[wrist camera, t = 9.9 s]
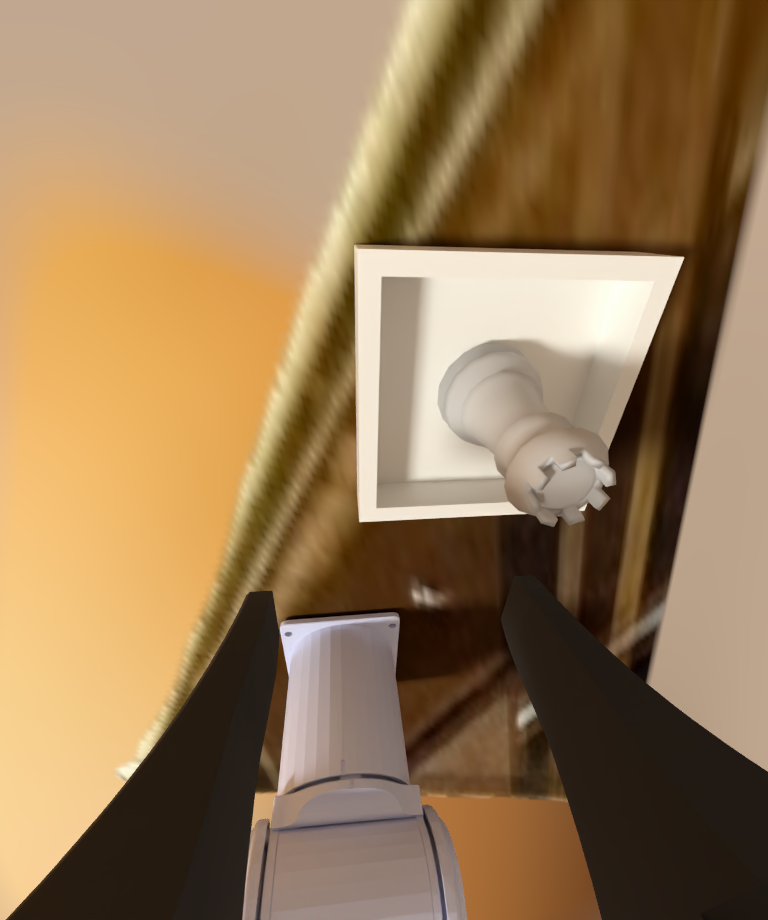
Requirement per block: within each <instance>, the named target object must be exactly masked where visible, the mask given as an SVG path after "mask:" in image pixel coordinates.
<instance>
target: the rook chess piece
mask: <svg viewBox="0 0 768 920" xmlns="http://www.w3.org/2000/svg"><path fill="white" fill-rule="evenodd" d="M543 403H544V402H543V389H542V383H541V378H540V375H539V373H538V371H537V370H536V369H535V367H534V366H533V365H532V364H531V362H530V361H529V360H528V359H527V358H525V357H524V355H523V354H522V353H521V351H518V350H516V349H514V348H512V347H510V346H507V345H505V344H483V345H481V346H478V347H476V348H474V349H471V350H469V351H466V352H464V353H463V354H462V355H461V356H460V357H459V358H458V359H457V360H455V361H454V362H453V363H452V364H451V365H450V366H449V367H448V369H447V371H446V373H445V374H444V376H443V378H442V380H441V382H440V384H439V390H438V401H437V404H438V407H439V410H440V413H441V416H442V419H443V420H444V421H445V422H446V423H447V424H448V426H449V428H450V429H451V430H452V431H453V432H454V433H455V434H456V435H457V436H458V437H459V438H460V439H462V440H464V441H466V442H469V443H472V444H475V445H477V446H483V447H486V448H488V449H489V450H490V451H491V452H492V453H493V454H494V455H495V456H494V460H495V464H496V467H497V471H498V472H499V473H500V474H501V475H502V476H503V477H504V478H505V483H504V488H505V492H506V495H507V499H508V501H509V502H510V503H511V504H512V505H513V506H514V507H515V508H516V509H517V510H518V511H521V512H524V513H527V514H531V515H534V516H536V517H537V518H538V520H539V521H540V523H542V524H545V525H549V526H552V527H554V526H555V524H556V522H557V520H558V519H557V518H556V516H562V517H563V519H564V520H565V521H566V523H567V524H568V525H569V526H570V525H573V524H576V523H579V522H582V521H585V519H584V517H583V515H582V513H581V512H580V511H579V509H580V508H582V507H583V506H585V505H586V504H588V503H589V502H590V504H591V505H592V506H593V507H594V508H596V509H598V510H599V511H600V510H601V508H602V507H603V506H604V505H605V504H606V503H607V502H608V501H609V499H610V497H609V496H608V495H607V494H606V493H605V492H604V491H603V490H602V489H601V488H602V486H603V484H604V485H605V486H606V487H607V486H612V485H616V474H615V471H614V470H613V469H612V468H611V467H610V466H608V465H609V460H608V447H607V446H606V444H605V443H604V442H603V440H602V439H601V438H600V436H599V435H598V434H596V433H593V432H591V431H588V430H586V429H584V428H574V427H573V426H572V425H571V423H570V422H569V421H568V420H567V418H565V417H563V416H561V415H558V414H556V413H553V412H549V411H548V409H547V408H546V406H545V405H544V404H543Z"/></svg>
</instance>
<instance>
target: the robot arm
mask: <svg viewBox="0 0 768 920" xmlns="http://www.w3.org/2000/svg"><path fill="white" fill-rule="evenodd" d="M501 622H502V626H503V629H504V633H505V636H506V640H507V643H508V646H509V649H510V652H511V655H512V658H513V660H514V662H515V665H516V667H517V670H518V672H519V674H520V677H521V679H522V681H523V684H524V686H525V688H526V691H527V693H528V695H529V698H530V700H531V702H532V705H533V707H534V709H535V712H536V714H537V716H538V719H539V721H540V723H541V726H542V728H543V730H544V733H545V735H546V738H547V740H548V743H549V745H550V748H551V751H552V754H553V757H554V760H555V763H556V766H557V769H558V772H559V775H560V778H561V781H562V784H563V787H564V790H565V793H566V796H567V799H568V802H569V806H570V809H571V812H572V815H573V818H574V822H575V825H576V828H577V831H578V834H579V838H580V841H581V845H582V848H583V852H584V855H585V859H586V862H587V866H588V869H589V873H590V876H591V879H592V883H593V887H594V891H595V895H596V899H597V902H598V906H599V910H600V914H601V918H602V920H768V772H767V771H766V770H764V769H762V768H761V767H760V766H758V765H757V764H755V763H753V762H752V761H750V760H749V759H747V758H746V757H745V756H743V755H742V754H740V753H739V752H737V751H736V750H734V749H733V748H731V747H730V746H729V745H727V744H726V743H724V742H723V741H721V740H720V739H719V738H717V737H716V736H715V735H713V734H712V733H710V732H709V731H708V730H706V729H705V728H703V727H702V726H701V725H699V724H698V723H697V722H695V721H694V720H692V719H691V718H690V717H688V716H687V715H686V714H684V713H683V712H682V711H681V710H679V709H678V708H677V707H675V706H674V705H673V704H671V703H670V702H669V701H668V700H666V699H665V698H664V697H663V696H661V695H660V694H659V693H658V692H657V691H655V690H654V689H653V688H652V687H650V686H649V685H648V684H647V683H645V682H644V681H643V680H642V679H641V678H640V677H638V676H637V675H636V674H635V673H634V672H632V671H631V670H630V669H629V668H628V667H627V666H626V665H625V664H623V663H622V662H621V661H620V660H619V659H618V658H617V657H616V656H614V655H613V654H612V653H611V652H610V651H609V650H608V649H607V648H606V647H605V646H604V645H603V644H601V643H600V642H599V641H598V640H597V639H596V638H595V637H594V636H593V635H592V634H591V633H590V632H589V631H588V630H587V629H586V628H585V627H584V626H583V625H582V624H581V623H580V622H579V621H578V620H577V619H576V618H575V617H574V616H573V615H572V614H571V613H570V612H569V611H568V610H567V609H566V608H565V607H564V606H563V605H562V604H561V603H560V602H559V601H558V600H557V599H556V598H555V597H554V596H553V595H552V594H551V593H550V592H549V591H548V590H547V589H546V588H545V587H544V586H543V585H542V584H541V583H540V582H539V581H538V580H537V579H536V578H535V577H534V576H533V575H532V576H515V577H514V579H513V582H512V585H511V588H510V592H509V595H508V598H507V601H506V604H505V607H504V610H503V613H502V617H501ZM399 625H400V618H399V614H398V613H395V612H387V613H374V614H361V615H348V616H335V617H322V618H309V619H295V620H286V621H283V622H282V623H281V626H280V632H281V638H282V643H283V648H284V653H285V659H286V664H287V669H288V675H289V684H288V694H287V704H286V714H285V724H284V734H283V744H282V754H281V764H280V774H279V784H278V795H277V796H275V797H274V801H273V811H272V820H271V828H270V822H269V819H262V820H259V821H258V822H257V823H256V825H255V828H254V829H253V830H252V831H251V825H252V824H251V823H252V816H253V807H254V798H255V788H256V781H257V774H258V768H259V762H260V757H261V751H262V746H263V741H264V735H265V730H266V725H267V720H268V714H269V709H270V704H271V698H272V693H273V688H274V682H275V677H276V669H277V659H278V647H279V629H278V623H277V617H276V611H275V605H274V599H273V592H272V591H259V592H250V593H248V594H247V595H246V597H245V600H244V602H243V604H242V606H241V608H240V610H239V612H238V614H237V616H236V618H235V620H234V622H233V624H232V626H231V628H230V629H229V631H228V633H227V635H226V637H225V639H224V640H223V642H222V644H221V646H220V647H219V649H218V651H217V652H216V654H215V656H214V657H213V659H212V661H211V663H210V664H209V666H208V668H207V669H206V671H205V672H204V674H203V676H202V677H201V679H200V680H199V682H198V683H197V685H196V686H195V688H194V690H193V691H192V693H191V694H190V696H189V697H188V699H187V700H186V702H185V703H184V705H183V706H182V708H181V709H180V711H179V712H178V714H177V715H176V717H175V718H174V719H173V721H172V722H171V724H170V725H169V727H168V728H167V729H166V731H165V732H164V734H163V735H162V736H161V738H160V739H159V740H158V742H157V743H156V744H155V746H154V747H153V749H152V750H151V751H150V753H149V754H148V755H147V757H146V758H145V759H144V760H143V762H142V763H141V764H140V765H139V767H138V768H137V769H136V771H135V772H134V773H133V774H132V776H131V777H130V778H129V780H128V781H127V782H126V783H125V785H124V786H123V787H122V788H121V790H120V791H119V792H118V793H117V795H116V796H115V797H114V798H113V800H112V801H111V802H110V803H109V804H108V806H107V807H106V808H105V809H104V810H103V812H102V813H101V814H100V815H99V816H98V818H97V819H96V820H95V821H94V822H93V823H92V824H91V826H90V827H89V828H88V829H87V830H86V832H85V833H84V834H83V835H82V836H81V837H80V838H79V840H78V841H77V842H76V843H75V844H74V845H73V846H72V848H71V849H70V850H69V851H68V852H67V853H66V854H65V856H64V857H63V858H62V859H61V860H60V861H59V863H58V864H57V865H56V866H55V867H54V869H52V871H51V872H50V873H49V874H48V875H47V876H46V877H45V878H44V880H42V882H41V883H40V884H39V885H38V886H37V887H36V888H35V889H34V890H33V891H32V892H31V893H30V894H29V896H28V897H27V898H26V899H25V900H24V901H23V902H22V903H21V904H20V905H19V906H18V907H17V908H16V909H15V911H14V912H13V913H12V914H11V915H10V916H9V917H8V918H7V919H6V920H467V913H466V905H465V897H464V891H463V885H462V879H461V874H460V869H459V865H458V860H457V856H456V852H455V849H454V845H453V842H452V839H451V836H450V834H449V831H448V829H447V827H446V825H445V823H444V822H443V821H442V820H441V818H440V817H439V816H438V814H437V813H436V811H435V810H434V809H433V808H432V807H431V806H429V805H422V802H421V795H420V789H419V785H410V782H409V774H408V766H407V759H406V751H405V744H404V736H403V729H402V721H401V714H400V706H399V699H398V691H397V683H396V676H395V674H396V662H397V650H398V637H399Z"/></svg>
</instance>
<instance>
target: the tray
mask: <svg viewBox="0 0 768 920" xmlns="http://www.w3.org/2000/svg"><path fill="white" fill-rule="evenodd" d="M683 260H684V257H679V256H671V255H662V254H653V253H644V252H625V251H588V250H550V249H512V248H474V247H437V246H399V245H361V244H354V266H355V356H356V446H357V497H358V510H359V522H370V521H390V520H410V519H430V518H449V517H469V516H489V515H509V514H527V513H524V512H521V511H518V510H517V509H516V508H515V507H514V506H513V505H512V504H511V503H510V502H509V501H508V499H507V495H506V492H505V488H504V483H505V478H504V477H503V476H502V475H501V474H500V473H499V472H498V471H497V467H496V464H495V460H494V456H495V455H494V454H493V453H492V452H491V451H490V450H489V449H488V448H486V447H483V446H477V445H475V444H472V443H469V442H466V441H464V440H462V439H460V438H459V437H458V436H457V435H456V434H455V433H454V432H453V431H452V430H451V429H450V428H449V426H448V424H447V423H446V422H445V421H444V420H443V419H442V416H441V413H440V410H439V407H438V404H437V401H438V390H439V384H440V382H441V380H442V378H443V376H444V374H445V373H446V371H447V369H448V367H449V366H450V365H451V364H452V363H453V362H454V361H455V360H457V359H458V358H459V357H460V356H461V355H462V354H463V353H464V352H466V351H469V350H471V349H474V348H476V347H478V346H481V345H483V344H505V345H507V346H510V347H512V348H514V349H516V350H518V351H521V353H522V354H523V355H524V357H525V358H527V359H528V360H529V361H530V362H531V364H532V365H533V366H534V367H535V369H536V370H537V371H538V373H539V375H540V378H541V383H542V389H543V402H544V403H543V404H544V405H545V406H546V408H547V409H548V411H549V412H553V413H556V414H558V415H561V416H563V417H565V418H567V420H568V421H569V422H570V423H571V425H572V426H573V427H574V428H584V429H586V430H588V431H591V432H593V433H596V434H598V435H599V436H600V438H601V439H602V440H603V442H604V443H605V444H606V446H607V447H608V450H609V447H610V445H611V442H612V440H613V437H614V435H615V432H616V429H617V427H618V424H619V422H620V419H621V417H622V414H623V412H624V409H625V407H626V404H627V402H628V399H629V397H630V394H631V391H632V389H633V386H634V384H635V381H636V379H637V376H638V374H639V371H640V369H641V366H642V364H643V361H644V358H645V356H646V353H647V351H648V348H649V346H650V343H651V341H652V338H653V336H654V333H655V331H656V328H657V325H658V323H659V320H660V318H661V315H662V313H663V310H664V308H665V305H666V303H667V300H668V298H669V295H670V293H671V290H672V287H673V285H674V282H675V280H676V277H677V275H678V272H679V270H680V267H681V265H682V262H683ZM586 506H587V504H586V505H585V506H583V507H582V508H580V509H579V511H585V508H586Z"/></svg>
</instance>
